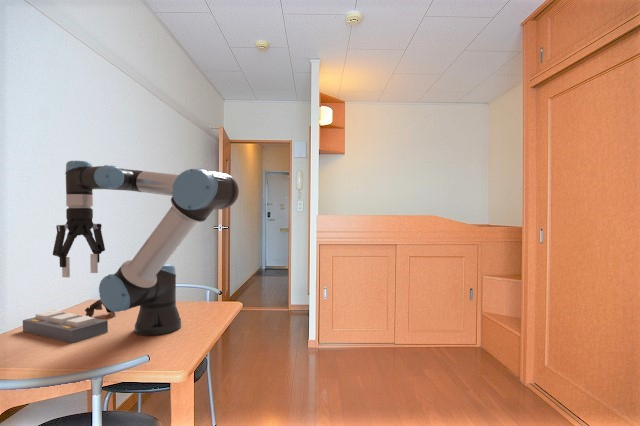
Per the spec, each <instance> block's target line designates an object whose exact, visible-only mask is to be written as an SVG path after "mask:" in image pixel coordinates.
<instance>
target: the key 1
mask: <svg viewBox="0 0 640 426" xmlns="http://www.w3.org/2000/svg"><path fill="white" fill-rule="evenodd" d="M64 313H65V312H64V311H59V310H50V311H43V312H40V313H37V314H36V313H35V317H36V319H38V320H43V321H47V320H51V318H50V317H54V316H58V315H62V314H64Z"/></svg>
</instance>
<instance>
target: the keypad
mask: <svg viewBox="0 0 640 426" xmlns="http://www.w3.org/2000/svg"><path fill="white" fill-rule="evenodd" d="M66 313H67V312H64V314H66ZM82 316H83V315H79V317H82ZM94 318H95V323H92V324H88V325H85V326H81V327H72V326H67V325H66V323H63V324H57V323H53V322H51V320H47V321H43V320H38V319H36V316H35V317H30V318H25V319H22V332H23V331H24V332H23V333H27V332H29V333H28V334H31V333H32V335H35V334H36V335H37V336H39V335H40V337H43V336H44V338H48V339H52V340H57V341H61V342H65V343H68V344H75V343H79V342H80V341H83V340H87V339H91V338H93V337H94V338H95V337H96V336H100V334H101V335H103V333H104V334H107V333H108V331H109V327H108V326H109V325H108V323H109V321H108V320H106V319H101V318H96V317H94ZM106 332H107V333H106Z"/></svg>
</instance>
